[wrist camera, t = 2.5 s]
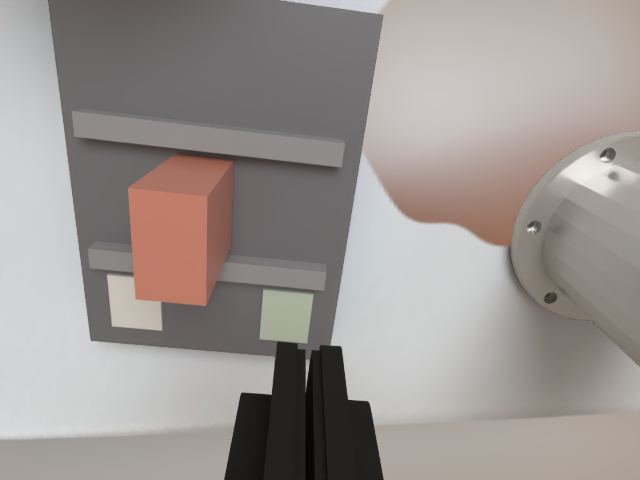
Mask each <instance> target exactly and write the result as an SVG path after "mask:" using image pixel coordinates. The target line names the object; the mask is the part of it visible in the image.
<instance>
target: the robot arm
mask: <svg viewBox="0 0 640 480" xmlns="http://www.w3.org/2000/svg"><path fill="white" fill-rule="evenodd" d="M529 223H530V224H529ZM511 260H512V264H513V267H514V271H515V274H516V276H517V278H518V280H519V281H520V283H521V285H522V287H523V288H524V289H525V290H526V291H527V292H528V293H529V295H530V296H531V297H532V298H533V299H534V300H535V301H536V302H537V303H538V304H539V305H541V306H542V307H543V308H545V309H547V310H549V311H551V312H553V313H555V314H557V315H560V316H563V317H567V318H570V319H577V320H587V321H592V322H593V323H594V324H595V325H596V326H597V327H599V328H600V329H601V330H602V331H603V332H604V333H605V334H606V335H607V336H608V337H609V338H610V339H611V340H612V341H613V342H614V343H615V344H616V345H617V346H618V347H619V348H621V349H622V350H623V351H624V352H625V353H626V354H627V355H628V356H629V357H630V358H631V359H632V360H633V361H634V362H635V363H636V364H637V365H638V366H639V367H640V131H630V132H621V133H617V134H613V135H609V136H605V137H602V138H599V139H597V140H595V141H592V142H590V143H588V144H586V145H583V146H581V147H580V148H578V149H576V150H575V151H573V152H572V153H570V154H569V155H567V156H565V157H564V158H562V159H561V160H560V161H559V162H557V163H556V164H555V165H554V166H553V167H552V168H551V169H550V170H548V171H547V172H546V173H545V174H544V175H543V176H542V178H541V179H540V180H539V181H538V182H537V183H536V185H535V186H534V187H533V188H532V189H531V191H530V192H529V194H528V196H527V198H526V199H525V201H524V202H523V204H522V206H521V208H520V210H519V213H518V216H517V218H516V221H515V223H514V227H513V232H512V238H511ZM305 388H306V393H305ZM224 480H384V479H383V473H382V468H381V463H380V457H379V451H378V446H377V440H376V435H375V429H374V424H373V418H372V413H371V408H370V404H369V402H368V401H355V400H348V397H347V388H346V380H345V372H344V363H343V355H342V348H341V346H328V345H320V347H319V350H312V351H311V357H310V364H309V372H308V379H307V386H306V350H305V349H298V343H290V342H277V348H276V358H275V368H274V378H273V388H272V395H268V394H254V393H241V396H240V401H239V406H238V411H237V416H236V421H235V427H234V432H233V438H232V442H231V447H230V453H229V458H228V463H227V469H226V473H225V479H224Z"/></svg>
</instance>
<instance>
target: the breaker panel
mask: <svg viewBox="0 0 640 480" xmlns="http://www.w3.org/2000/svg"><path fill="white" fill-rule="evenodd" d="M48 3H49V11H50V19H51V27H52V35H53V43H54V51H55V59H56V67H57V75H58V83H59V91H60V99H61V107H62V115H63V123H64V131H65V139H66V147H67V155H68V163H69V171H70V179H71V187H72V195H73V203H74V211H75V219H76V227H77V235H78V243H79V251H80V259H81V267H82V275H83V283H84V291H85V299H86V307H87V315H88V322H89V330H90V338H91V341H100V342H112V343H124V344H136V345H147V346H159V347H171V348H183V349H194V350H206V351H218V352H230V353H241V354H253V355H265V356H276V348H277V342H290V343H298V349H305V350H306V359H310V357H311V351H312V350H319V347H320V345H328V346H330V344H331V338H332V331H333V325H334V319H335V313H336V307H337V300H338V294H339V288H340V282H341V276H342V269H343V263H344V257H345V251H346V244H347V238H348V232H349V226H350V220H351V213H352V207H353V201H354V195H355V188H356V182H357V176H358V170H359V164H360V157H361V151H362V145H363V138H364V132H365V126H366V120H367V114H368V107H369V101H370V95H371V89H372V83H373V76H374V70H375V63H376V58H377V52H378V45H379V39H380V32H381V27H382V20H383V15H381V14H374V13H366V12H359V11H352V10H345V9H338V8H331V7H323V6H316V5H309V4H302V3H295V2H288V1H280V0H48ZM174 154H181V155H190V156H199V157H208V158H216V159H225V160H234V175H233V202H232V229H231V248H230V251H229V253H228V255H227V258H226V260H225V262H224V265H223V267H222V269H221V272H220V274H219V277H218V279H217V281H216V284H215V286H214V288H213V291H212V293H211V295H210V298H209V300H208V303H207V305H206V306H201V305H190V304H179V303H168V302H158V301H147V300H136V299H135V285H134V270H133V255H132V241H131V226H130V212H129V197H128V188H129V187H130V186H131V185H133V184H134V183H135V182H137V181H138V180H140V179H141V178H142V177H144V176H145V175H147V174H148V173H149V172H151V171H152V170H153V169H155V168H156V167H158V166H159V165H160V164H162V163H163V162H165V161H166V160H167V159H169V158H170V157H171V156H173V155H174Z"/></svg>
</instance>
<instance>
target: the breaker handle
mask: <svg viewBox="0 0 640 480" xmlns="http://www.w3.org/2000/svg"><path fill="white" fill-rule="evenodd" d="M233 175H234V160H225V159H216V158H208V157H199V156H190V155H181V154H174V155H173V156H171V157H170V158H169V159H167V160H166V161H165V162H163V163H162V164H160V165H159V166H158V167H156V168H155V169H153V170H152V171H151V172H149V173H148V174H147V175H145V176H144V177H142V178H141V179H140V180H138V181H137V182H135V183H134V184H133V185H131V186H130V187H129V188H128V197H129V212H130V226H131V241H132V255H133V270H134V285H135V299H136V300H147V301H158V302H168V303H179V304H190V305H201V306H206V305H207V303H208V300H209V298H210V295H211V293H212V291H213V288H214V286H215V284H216V281H217V279H218V277H219V274H220V272H221V269H222V267H223V265H224V262H225V260H226V258H227V255H228V253H229V251H230V248H231V229H232V202H233Z"/></svg>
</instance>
